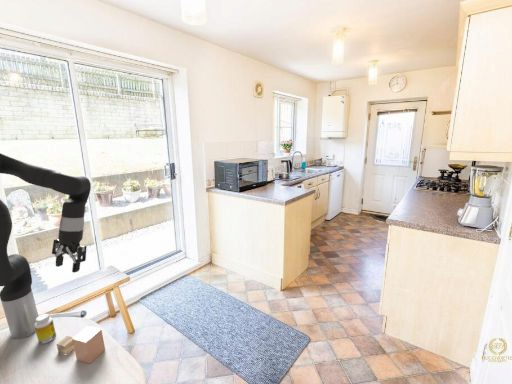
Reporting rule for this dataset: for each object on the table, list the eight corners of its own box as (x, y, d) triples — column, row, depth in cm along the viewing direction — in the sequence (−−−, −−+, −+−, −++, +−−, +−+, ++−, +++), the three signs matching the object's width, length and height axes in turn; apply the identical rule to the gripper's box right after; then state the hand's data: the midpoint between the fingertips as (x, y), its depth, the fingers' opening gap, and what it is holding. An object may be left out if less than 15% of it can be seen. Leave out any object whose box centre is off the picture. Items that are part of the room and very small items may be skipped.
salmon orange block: (76, 359, 92) (72, 338, 90) (92, 345, 98) (88, 325, 96) (90, 363, 91) (85, 342, 88) (105, 349, 97) (101, 329, 94)
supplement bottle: (56, 339, 102) (51, 317, 99) (38, 346, 98) (32, 324, 96) (56, 331, 106) (51, 310, 103) (38, 338, 102) (33, 316, 100)
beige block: (58, 352, 96) (56, 343, 95) (68, 344, 99) (67, 335, 98) (66, 355, 94) (64, 346, 93) (76, 346, 98) (74, 338, 97)
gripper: (47, 225, 95) (43, 267, 96) (76, 233, 91) (71, 277, 92) (67, 222, 102) (63, 261, 103) (94, 230, 98) (90, 270, 99)
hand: (67, 268), depth 98 cm, fingers open, 8 cm apart
